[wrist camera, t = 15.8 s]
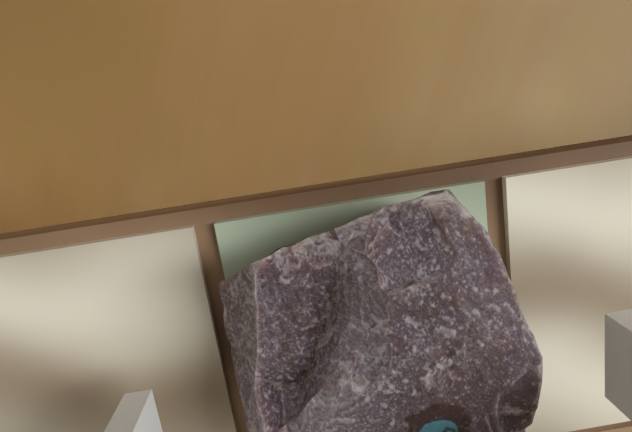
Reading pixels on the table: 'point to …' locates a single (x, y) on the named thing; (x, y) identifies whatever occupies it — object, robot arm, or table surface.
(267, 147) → the table surface
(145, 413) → the robot arm
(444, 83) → the table surface
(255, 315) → the rock
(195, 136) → the table surface
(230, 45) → the table surface
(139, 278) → the board
